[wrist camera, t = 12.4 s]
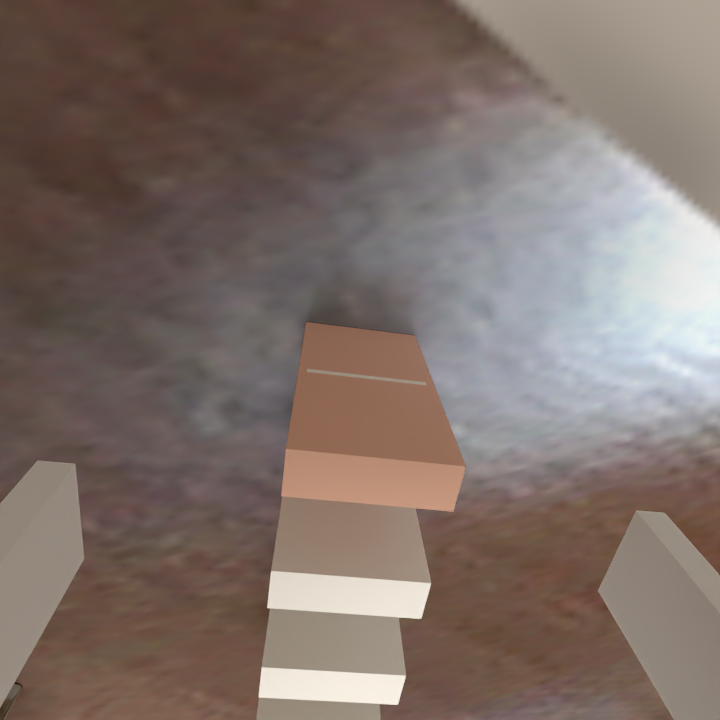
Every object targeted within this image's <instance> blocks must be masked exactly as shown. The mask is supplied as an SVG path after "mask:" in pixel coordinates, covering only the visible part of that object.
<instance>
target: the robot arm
mask: <svg viewBox="0 0 720 720" xmlns="http://www.w3.org/2000/svg"><path fill="white" fill-rule="evenodd" d="M83 560H84V550H83V540H82V529H81V519H80V508H79V497H78V487H77V476H76V466H75V464H73V463H61V462H49V461H37V462H36V463H35V464H34V465H33V466H32V468H31V469H30V470H29V471H28V472H27V473H26V474H25V476H24V477H23V478H22V479H21V480H20V481H19V482H18V484H17V485H16V486H15V487H14V488H13V489H12V491H11V492H10V493H9V494H8V495H7V496H6V497H5V499H4V500H3V501H2V502H1V503H0V707H1V706H2V704H3V702H4V700H5V699H6V697H7V695H8V693H9V691H10V690H11V688H12V686H13V684H14V683H15V681H16V679H17V677H18V675H19V674H20V672H21V670H22V668H23V667H24V665H25V663H26V661H27V659H28V658H29V656H30V654H31V652H32V651H33V649H34V647H35V645H36V644H37V642H38V640H39V638H40V636H41V635H42V633H43V631H44V629H45V628H46V626H47V624H48V622H49V620H50V619H51V617H52V615H53V613H54V612H55V610H56V608H57V606H58V604H59V603H60V601H61V599H62V597H63V596H64V594H65V592H66V590H67V588H68V587H69V585H70V583H71V581H72V580H73V578H74V576H75V574H76V572H77V571H78V569H79V567H80V565H81V564H82V562H83ZM598 592H599V593H600V595H601V597H602V598H603V600H604V602H605V604H606V605H607V607H608V609H609V610H610V612H611V614H612V615H613V617H614V619H615V620H616V622H617V624H618V626H619V627H620V629H621V631H622V632H623V634H624V636H625V637H626V639H627V641H628V643H629V644H630V646H631V648H632V649H633V651H634V653H635V654H636V656H637V658H638V660H639V661H640V663H641V665H642V666H643V668H644V670H645V671H646V673H647V675H648V677H649V678H650V680H651V682H652V683H653V685H654V687H655V688H656V690H657V692H658V693H659V695H660V697H661V699H662V700H663V702H664V704H665V705H666V707H667V709H668V710H669V712H670V714H671V716H672V717H673V719H674V720H720V575H719V574H718V573H717V572H716V571H715V569H714V568H713V567H712V566H711V565H710V564H709V563H708V561H707V560H706V559H705V558H704V557H703V556H702V555H701V554H700V552H699V551H698V550H697V549H696V548H695V547H694V546H693V544H692V543H691V542H690V541H689V540H688V539H687V538H686V537H685V535H684V534H683V533H682V532H681V531H680V530H679V529H678V527H677V526H676V525H675V524H674V523H673V522H672V521H671V520H670V518H669V517H668V516H667V515H666V514H665V513H661V512H649V511H637V510H636V512H635V514H634V516H633V518H632V520H631V522H630V524H629V527H628V529H627V531H626V533H625V535H624V537H623V539H622V541H621V543H620V545H619V548H618V550H617V552H616V554H615V556H614V558H613V560H612V562H611V564H610V566H609V569H608V571H607V573H606V575H605V577H604V579H603V581H602V583H601V585H600V587H599V590H598Z"/></svg>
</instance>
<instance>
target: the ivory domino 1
mask: <svg viewBox="0 0 720 720" xmlns="http://www.w3.org/2000/svg"><path fill="white" fill-rule="evenodd" d="M430 586H431V580H430V575H429V570H428V565H427V561H426V556H425V551H424V547H423V542H422V537H421V532H420V528H419V523H418V518H417V513H416V509H415V508H408V507H396V506H385V505H374V504H362V503H351V502H340V501H329V500H317V499H306V498H295V497H283V496H282V502H281V508H280V515H279V522H278V528H277V535H276V542H275V549H274V555H273V562H272V569H271V577H270V586H269V596H268V605H267V608H273V609H287V610H301V611H315V612H330V613H344V614H358V615H372V616H387V617H401V618H415V619H421V618H422V614H423V611H424V607H425V604H426V600H427V597H428V593H429V589H430Z"/></svg>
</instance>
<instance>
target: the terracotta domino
mask: <svg viewBox="0 0 720 720" xmlns="http://www.w3.org/2000/svg"><path fill="white" fill-rule="evenodd" d="M465 468H466V465H465V463H464V460H463V458H462V455H461V452H460V450H459V447H458V445H457V442H456V440H455V437H454V435H453V432H452V429H451V427H450V424H449V422H448V419H447V417H446V414H445V411H444V409H443V406H442V404H441V401H440V399H439V396H438V394H437V391H436V388H435V386H434V383H433V381H432V378H431V376H430V373H429V370H428V368H427V365H426V363H425V360H424V358H423V355H422V352H421V350H420V347H419V345H418V342H417V340H416V337H415V335H408V334H399V333H391V332H383V331H375V330H367V329H359V328H351V327H343V326H335V325H327V324H318V323H310V322H306V326H305V332H304V339H303V345H302V351H301V357H300V364H299V370H298V376H297V383H296V389H295V395H294V402H293V408H292V414H291V421H290V427H289V433H288V439H287V446H286V454H285V463H284V473H283V482H282V492H281V496H283V497H295V498H306V499H317V500H329V501H340V502H351V503H362V504H374V505H385V506H396V507H408V508H419V509H430V510H441V511H454V507H455V504H456V500H457V497H458V493H459V490H460V486H461V482H462V479H463V475H464V472H465Z"/></svg>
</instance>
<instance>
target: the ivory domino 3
mask: <svg viewBox="0 0 720 720" xmlns="http://www.w3.org/2000/svg"><path fill="white" fill-rule="evenodd" d="M256 720H381V717H380V704H373V703H354V702H335V701H316V700H297V699H278V698H259V703H258V710H257V717H256Z"/></svg>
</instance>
